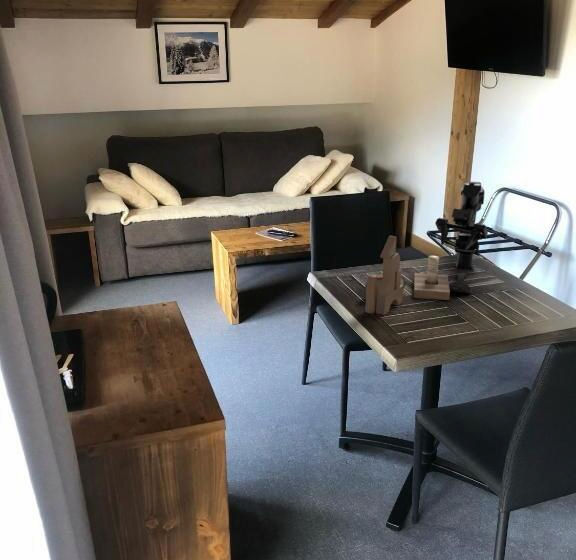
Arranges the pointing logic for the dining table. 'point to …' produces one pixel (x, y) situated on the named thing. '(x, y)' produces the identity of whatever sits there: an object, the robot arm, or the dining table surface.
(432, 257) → the cream ridged cylinder
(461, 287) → the hairbrush
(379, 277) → the tin
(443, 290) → the brown box
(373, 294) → the wooden toy
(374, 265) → the dining table surface
